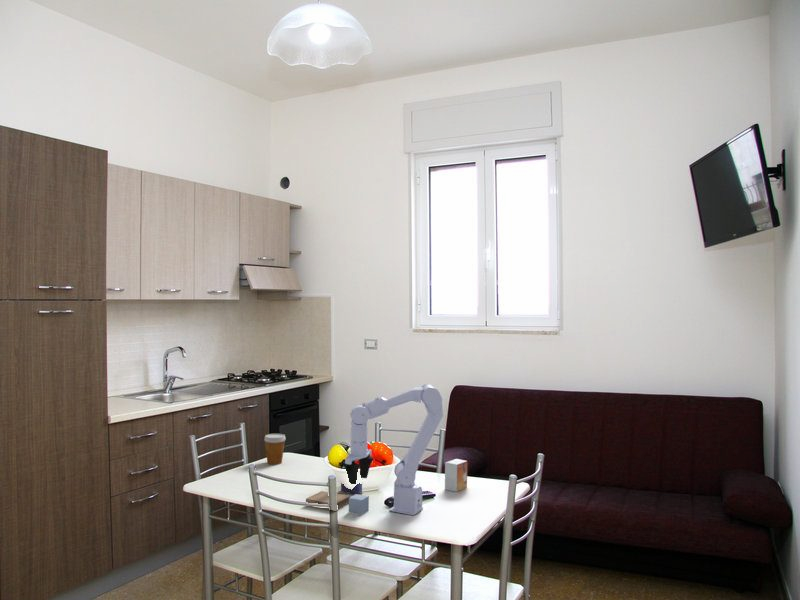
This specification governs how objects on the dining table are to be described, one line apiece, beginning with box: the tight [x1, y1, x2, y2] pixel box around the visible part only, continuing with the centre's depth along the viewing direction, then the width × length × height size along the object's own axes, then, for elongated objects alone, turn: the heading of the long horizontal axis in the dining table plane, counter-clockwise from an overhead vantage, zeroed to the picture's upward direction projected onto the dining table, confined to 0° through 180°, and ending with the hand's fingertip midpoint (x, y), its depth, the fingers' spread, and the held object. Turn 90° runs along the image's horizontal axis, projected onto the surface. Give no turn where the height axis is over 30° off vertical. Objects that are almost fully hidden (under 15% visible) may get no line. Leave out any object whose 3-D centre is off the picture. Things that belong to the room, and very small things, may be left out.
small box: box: [444, 458, 468, 492], centre depth 239 cm, size 8×6×10 cm
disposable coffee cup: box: [263, 433, 287, 466], centre depth 272 cm, size 10×10×12 cm
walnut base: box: [305, 490, 351, 511], centre depth 217 cm, size 12×10×2 cm
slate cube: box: [348, 494, 370, 516], centre depth 211 cm, size 5×5×5 cm
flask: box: [340, 466, 363, 495], centre depth 232 cm, size 9×3×11 cm, turn 59°
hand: (358, 480), depth 211 cm, fingers open, 7 cm apart
